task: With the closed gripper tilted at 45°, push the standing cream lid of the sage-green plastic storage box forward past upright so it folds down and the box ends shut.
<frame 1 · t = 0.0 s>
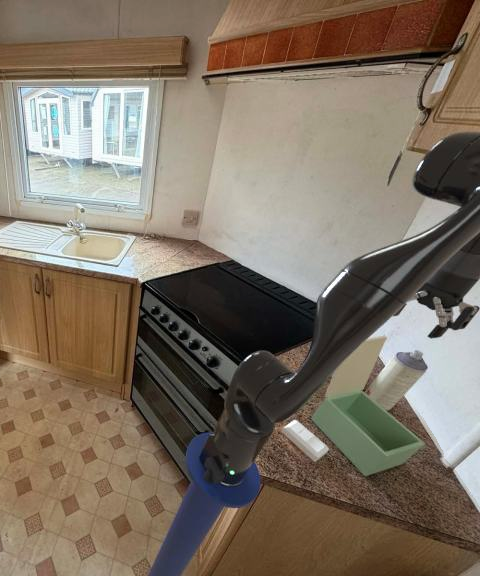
hand: (411, 325, 76), 29 cm above the counter, tool pointing down, fingers open, 8 cm apart
lid: (355, 367, 78), point 17 cm above the counter, hinge at 100.0°
aerosol can: (376, 401, 92), on the counter
teacup with lid: (333, 372, 101), on the counter
white light switch: (302, 442, 79), on the counter
container: (353, 439, 80), on the counter
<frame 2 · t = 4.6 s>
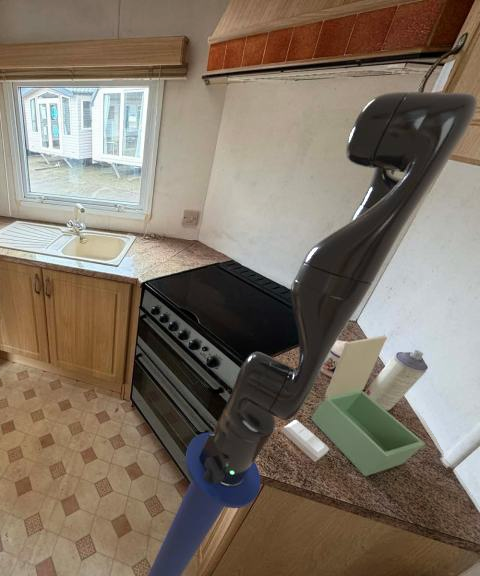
hand: (333, 290, 79), 33 cm above the counter, tool pointing down, fingers closed
nothing on the counter moved.
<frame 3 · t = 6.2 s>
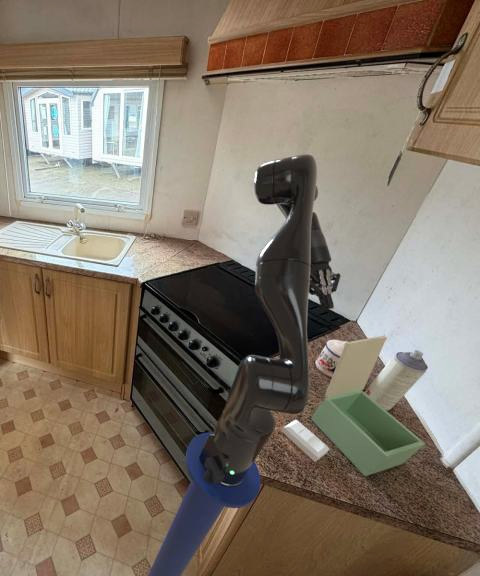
hand: (328, 309, 84), 27 cm above the counter, tool tilted 45°, fingers closed
nothing on the counter moved.
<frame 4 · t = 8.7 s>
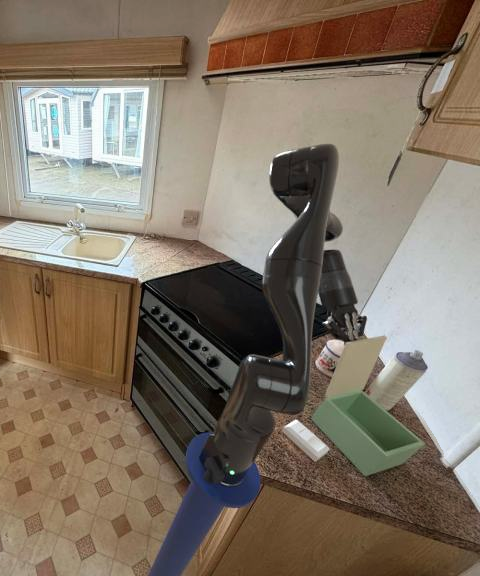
hand: (354, 355, 78), 20 cm above the counter, tool tilted 45°, fingers closed
lid: (355, 367, 78), point 17 cm above the counter, hinge at 100.0°, touching gripper
everything else where it was.
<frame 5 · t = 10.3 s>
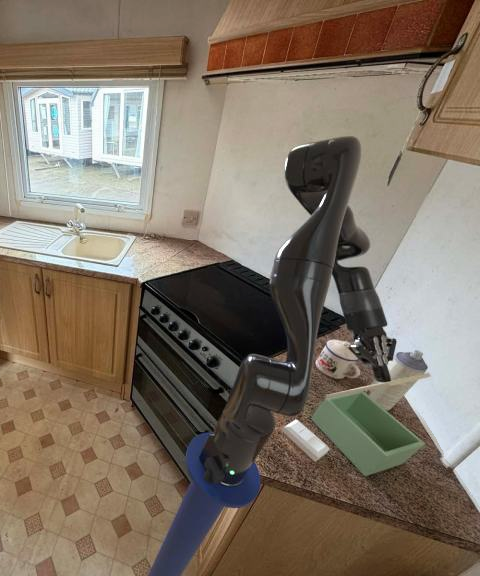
hand: (384, 381, 72), 19 cm above the counter, tool tilted 45°, fingers closed
lid: (374, 386, 74), point 16 cm above the counter, hinge at 60.8°
everything else where it was.
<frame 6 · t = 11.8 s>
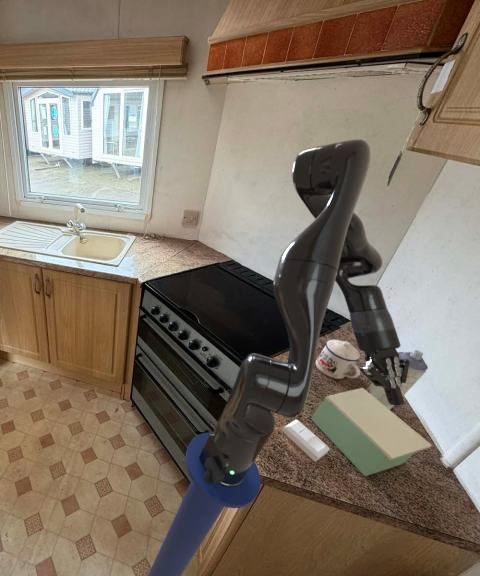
hand: (396, 404, 70), 16 cm above the counter, tool tilted 45°, fingers closed
lid: (375, 420, 75), point 9 cm above the counter, hinge at -0.2°
everything else where it was.
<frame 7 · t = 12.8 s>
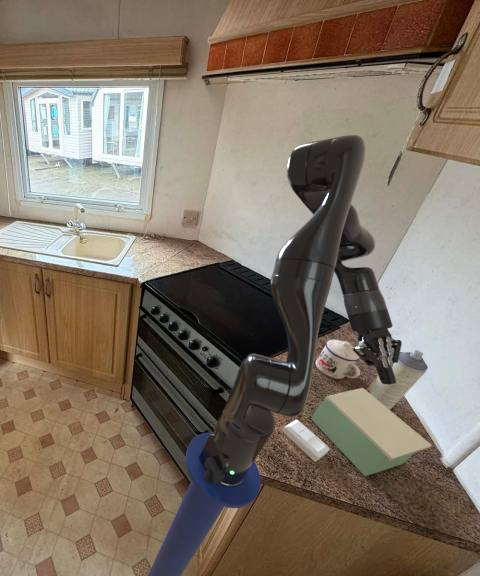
hand: (388, 383, 71), 19 cm above the counter, tool tilted 45°, fingers closed
nothing on the counter moved.
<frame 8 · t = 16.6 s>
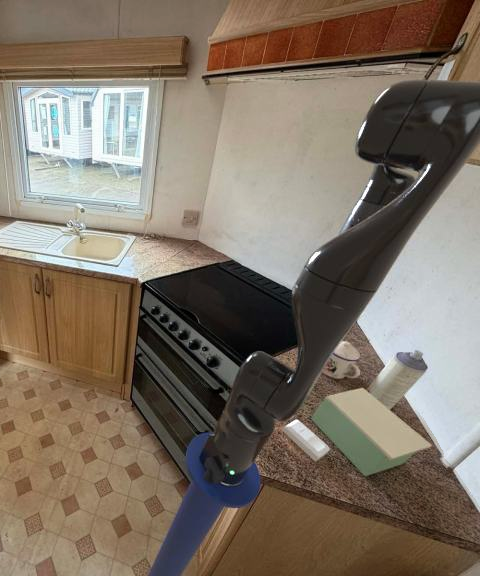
hand: (330, 289, 76), 35 cm above the counter, tool pointing down, fingers closed
nothing on the counter moved.
at the end: lid at +0° (first picture: +100°) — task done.
